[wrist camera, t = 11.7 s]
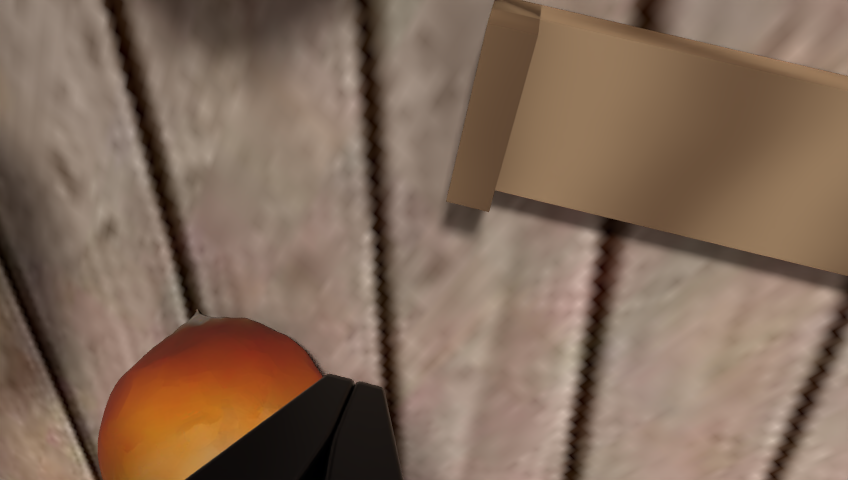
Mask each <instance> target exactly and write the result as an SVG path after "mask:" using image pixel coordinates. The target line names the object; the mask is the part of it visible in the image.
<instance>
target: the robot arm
mask: <svg viewBox="0 0 848 480" xmlns="http://www.w3.org/2000/svg"><path fill="white" fill-rule="evenodd" d="M185 480H403V475H402V471H401V466H400V461H399V456H398V452H397V447H396V442H395V438H394V433H393V428H392V424H391V419H390V414H389V410H388V405H387V400H386V395H385V392H384V389H383V388H382V387H380V386H376V385H372V384H368V383H364V382H357V383H356V384H354V381H353V380H352V379H349V378H345V377H341V376H337V375H333V374H327V375H325V376H324V377H322V378H321V379H320V380H318V381H317V382H316V383H314V384H313V385H312V386H310V387H309V388H308V389H306V390H305V391H304V392H302V393H301V394H299V395H298V396H297V397H295V398H294V399H293V400H291V401H290V402H289V403H287V404H286V405H285V406H283V407H282V408H281V409H279V410H278V411H277V412H275V413H274V414H273V415H271V416H270V417H268V418H267V419H266V420H264V421H263V422H262V423H260V424H259V425H258V426H256V427H255V428H254V429H252V430H251V431H250V432H248V433H247V434H245V435H244V436H243V437H241V438H240V439H239V440H237V441H236V442H235V443H233V444H232V445H231V446H229V447H228V448H227V449H225V450H224V451H223V452H221V453H220V454H218V455H217V456H216V457H214V458H213V459H212V460H210V461H209V462H208V463H206V464H205V465H204V466H202V467H201V468H200V469H198V470H197V471H196V472H194V473H193V474H191V475H190V476H189V477H187V478H186V479H185Z"/></svg>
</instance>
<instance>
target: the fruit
mask: <svg viewBox="0 0 848 480" xmlns="http://www.w3.org/2000/svg"><path fill="white" fill-rule="evenodd" d="M322 377H323V376H322V375H321V373H320V372H319V371H318V369H317V368H316V366H315V365H314V363H313V361H312V360H311V358H310V357H309V355H308V354H307V353H306V351H305V350H304V349H303V348H302V347H300V346H299V345H298V344H297V343H296V342H294V341H293V340H292V339H290V338H289V337H288V336H286V335H284V334H281V333H279V332H277V331H274V330H272V329H270V328H268V327H266V326H265V325H263V324H261V323H258V322H255V321H252V320H250V319H247V318H229V317H221V318H218V317H208V316H204V315H202V314H200V313H199V312H198V310H196V313H195V315H194V316H193V317H192V318H191V319H190V320H189V321H188V322H186V323H185V324H183V325H182V326H180V327H179V328H178V329H177V330H176V331H175V332H174V333H173V334H171V335H170V336H168V337H167V338H165V339H164V340H163V341H162V342H160V343H159V344H158V345H156V346H155V347H154V348H152V349H151V350H150V351H149V352H148V353H147V354H146V355H144V356H143V357H142V358H141V359H140V360H139V361H138V362H137V363H136V364H135V365H134V366H133V367H132V368H131V369H130V370H129V371H127V372H126V373H125V374H124V375H123V376H122V377H121V379H120V380H119V381H118V382H117V384H116V385H115V387H114V389H113V391H112V393H111V394H110V397H109V400H108V402H107V405H106V408H105V411H104V415H103V418H102V423H101V427H100V431H99V437H98V460H99V466H100V470H101V474H102V478H103V480H185V479H186V478H187V477H189V476H190V475H191V474H193V473H194V472H196V471H197V470H198V469H200V468H201V467H202V466H204V465H205V464H206V463H208V462H209V461H210V460H212V459H213V458H214V457H216V456H217V455H218V454H220V453H221V452H223V451H224V450H225V449H227V448H228V447H229V446H231V445H232V444H233V443H235V442H236V441H237V440H239V439H240V438H241V437H243V436H244V435H245V434H247V433H248V432H250V431H251V430H252V429H254V428H255V427H256V426H258V425H259V424H260V423H262V422H263V421H264V420H266V419H267V418H268V417H270V416H271V415H273V414H274V413H275V412H277V411H278V410H279V409H281V408H282V407H283V406H285V405H286V404H287V403H289V402H290V401H291V400H293V399H294V398H295V397H297V396H298V395H299V394H301V393H302V392H304V391H305V390H306V389H308V388H309V387H310V386H312V385H313V384H314V383H316V382H317V381H318V380H320V379H321V378H322Z"/></svg>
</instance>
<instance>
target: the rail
mask: <svg viewBox="0 0 848 480" xmlns="http://www.w3.org/2000/svg"><path fill="white" fill-rule="evenodd" d="M495 190H496V191H500V192H504V193H508V194H512V195H517V196H521V197H525V198H529V199H533V200H537V201H541V202H545V203H549V204H554V205H558V206H562V207H566V208H570V209H574V210H578V211H582V212H586V213H591V214H595V215H599V216H603V217H607V218H611V219H615V220H619V221H623V222H628V223H632V224H636V225H640V226H644V227H648V228H652V229H656V230H660V231H665V232H669V233H673V234H677V235H681V236H685V237H689V238H693V239H698V240H702V241H706V242H710V243H714V244H718V245H722V246H726V247H730V248H735V249H739V250H743V251H747V252H751V253H755V254H759V255H763V256H767V257H772V258H776V259H780V260H784V261H788V262H792V263H796V264H800V265H804V266H809V267H813V268H817V269H821V270H825V271H829V272H833V273H837V274H842V275H846V276H848V76H845V75H840V74H836V73H832V72H827V71H823V70H819V69H815V68H810V67H806V66H802V65H797V64H793V63H789V62H784V61H780V60H776V59H772V58H767V57H763V56H759V55H754V54H750V53H746V52H741V51H737V50H733V49H729V48H724V47H720V46H716V45H711V44H707V43H703V42H698V41H694V40H690V39H685V38H681V37H677V36H673V35H668V34H664V33H660V32H655V31H651V30H647V29H642V28H638V27H634V26H630V25H625V24H621V23H617V22H612V21H608V20H604V19H599V18H595V17H591V16H586V15H582V14H578V13H574V12H569V11H565V10H561V9H556V8H552V7H548V6H543V5H539V4H535V3H531V2H526V1H522V0H495V1H494V4H493V7H492V11H491V14H490V17H489V20H488V24H487V28H486V32H485V36H484V41H483V45H482V49H481V54H480V58H479V62H478V67H477V71H476V75H475V80H474V84H473V88H472V92H471V97H470V101H469V105H468V110H467V114H466V118H465V123H464V127H463V131H462V135H461V140H460V144H459V148H458V153H457V157H456V161H455V166H454V170H453V174H452V179H451V183H450V187H449V191H448V196H447V200H446V202H450V203H454V204H458V205H463V206H467V207H471V208H475V209H479V210H483V211H487V212H489V210H490V206H491V203H492V199H493V196H494V192H495Z"/></svg>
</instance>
